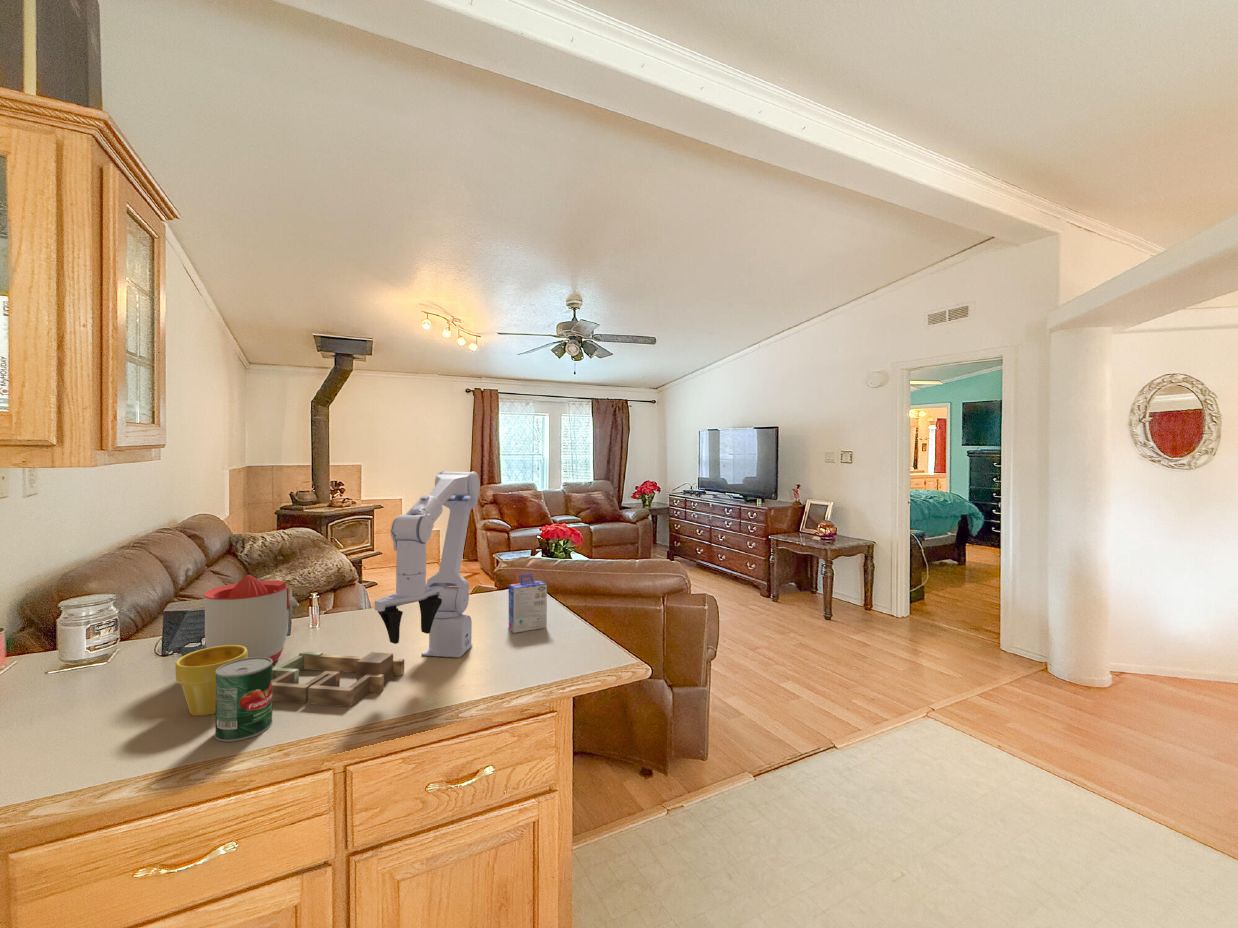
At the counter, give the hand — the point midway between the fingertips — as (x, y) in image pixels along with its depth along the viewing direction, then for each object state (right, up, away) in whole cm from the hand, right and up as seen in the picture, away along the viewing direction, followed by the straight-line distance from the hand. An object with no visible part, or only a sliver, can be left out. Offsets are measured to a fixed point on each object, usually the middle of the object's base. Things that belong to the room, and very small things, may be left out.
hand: (410, 637), depth 105 cm
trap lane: (-16, -9, -2) cm, 18 cm away
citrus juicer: (-39, -9, +8) cm, 41 cm away
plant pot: (-32, -9, -11) cm, 35 cm away
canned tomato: (-21, -10, -19) cm, 29 cm away
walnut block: (-8, -9, +1) cm, 12 cm away
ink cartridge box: (+18, -10, +35) cm, 40 cm away
